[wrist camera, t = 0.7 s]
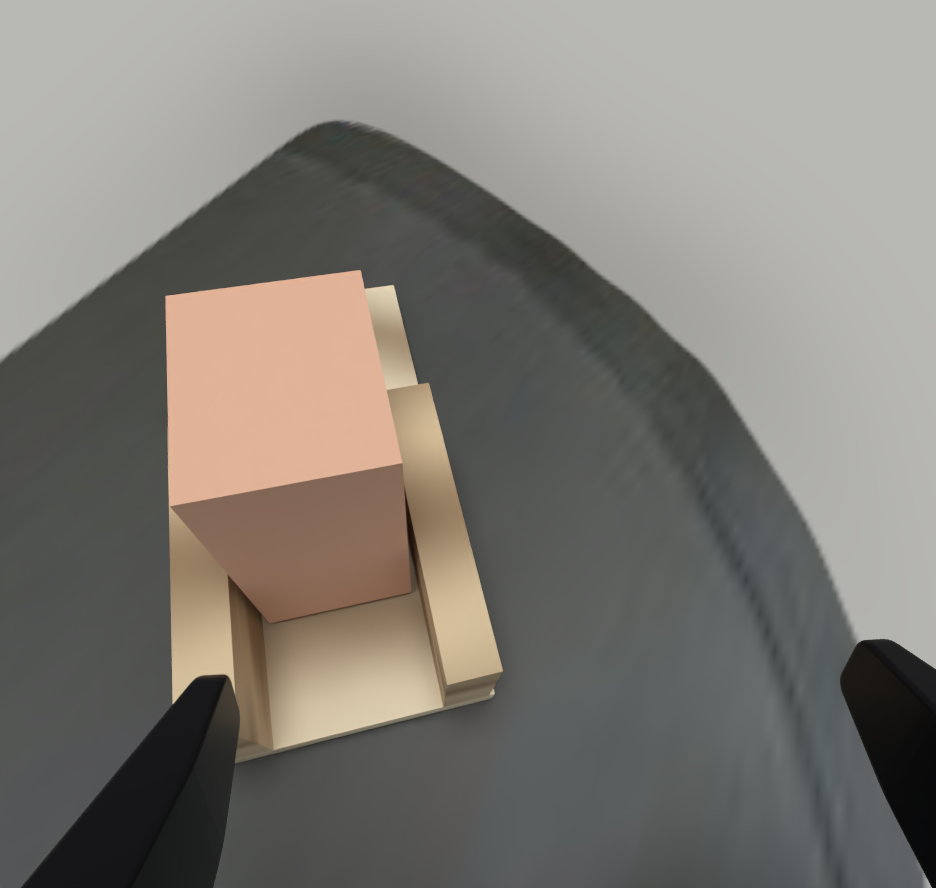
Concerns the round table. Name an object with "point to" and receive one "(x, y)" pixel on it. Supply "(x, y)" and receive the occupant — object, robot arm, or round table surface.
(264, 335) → the block
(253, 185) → the round table surface
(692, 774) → the round table surface
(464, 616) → the chute
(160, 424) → the round table surface
